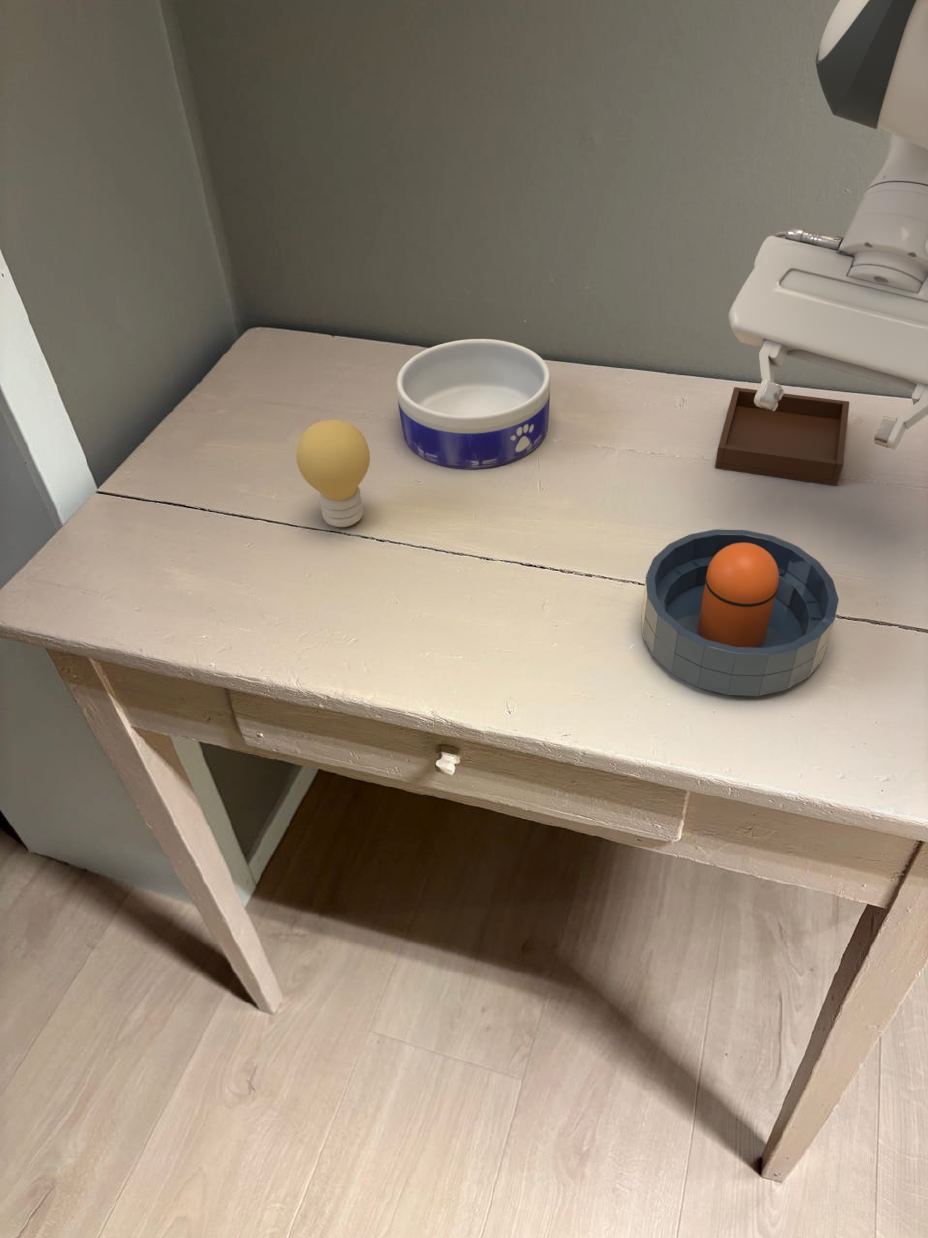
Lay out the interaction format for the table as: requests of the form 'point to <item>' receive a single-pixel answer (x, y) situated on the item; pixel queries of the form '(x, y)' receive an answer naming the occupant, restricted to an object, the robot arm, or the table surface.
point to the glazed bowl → (724, 668)
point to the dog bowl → (474, 403)
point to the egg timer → (739, 595)
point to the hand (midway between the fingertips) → (822, 425)
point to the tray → (785, 437)
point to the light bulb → (335, 468)
